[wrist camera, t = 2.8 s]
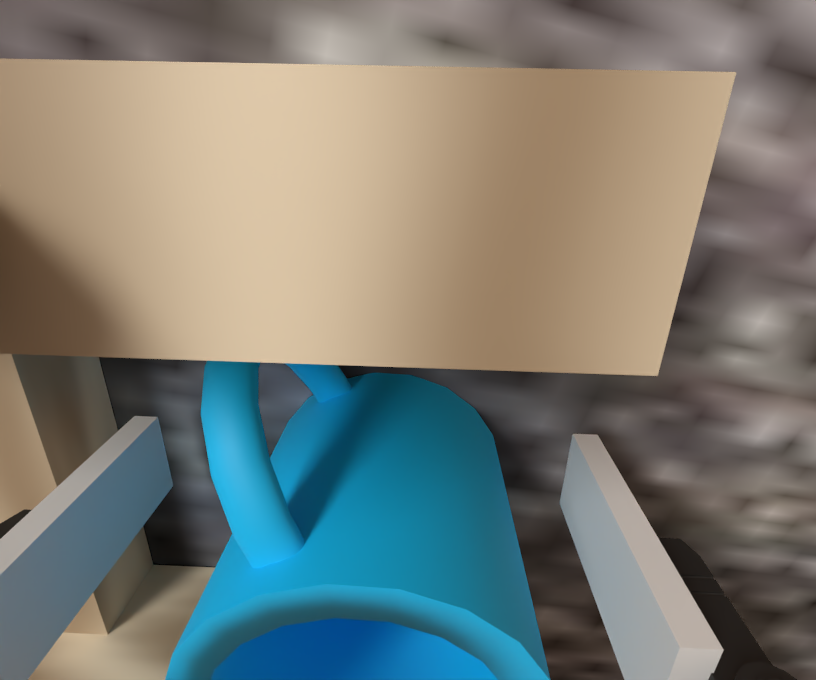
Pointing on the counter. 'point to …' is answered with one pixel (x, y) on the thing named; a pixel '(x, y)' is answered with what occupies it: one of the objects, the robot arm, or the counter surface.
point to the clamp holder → (319, 249)
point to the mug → (358, 539)
